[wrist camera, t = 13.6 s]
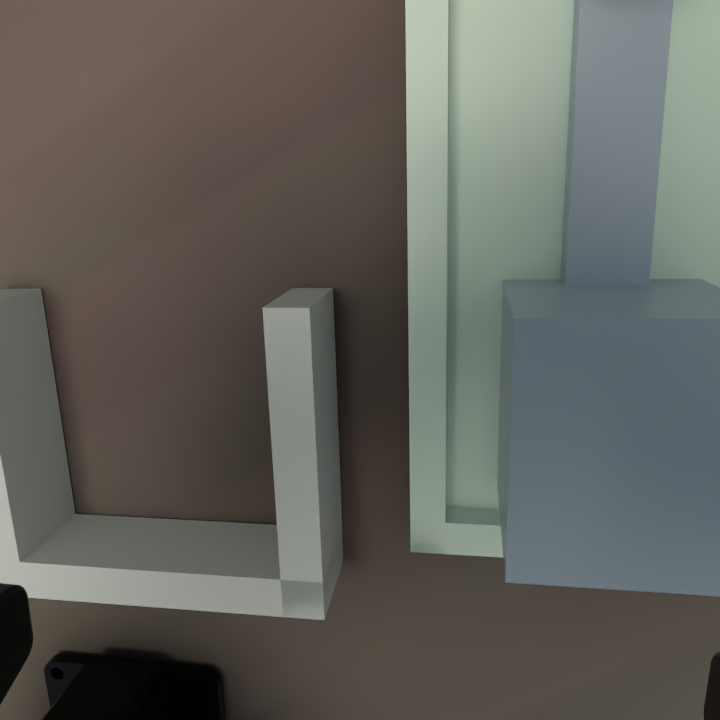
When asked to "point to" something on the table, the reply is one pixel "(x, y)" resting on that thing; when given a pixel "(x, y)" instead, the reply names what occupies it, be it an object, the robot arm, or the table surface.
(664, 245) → the tray
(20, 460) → the frame
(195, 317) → the table surface
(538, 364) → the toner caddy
